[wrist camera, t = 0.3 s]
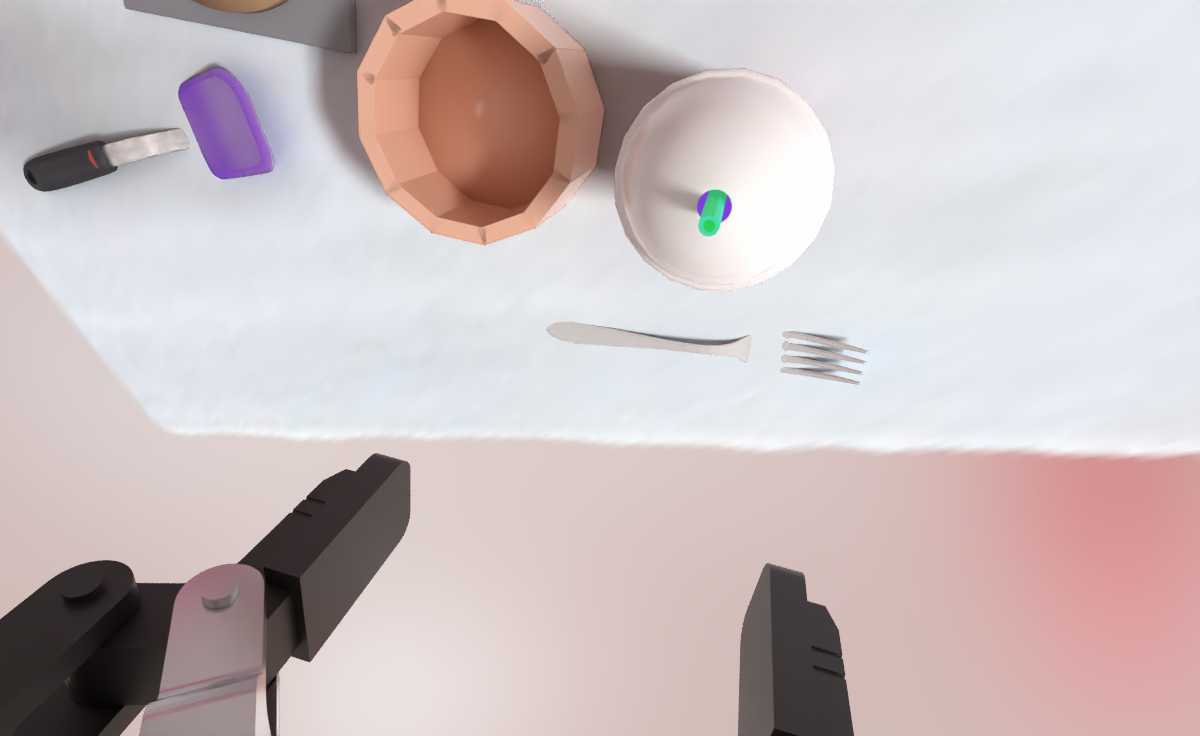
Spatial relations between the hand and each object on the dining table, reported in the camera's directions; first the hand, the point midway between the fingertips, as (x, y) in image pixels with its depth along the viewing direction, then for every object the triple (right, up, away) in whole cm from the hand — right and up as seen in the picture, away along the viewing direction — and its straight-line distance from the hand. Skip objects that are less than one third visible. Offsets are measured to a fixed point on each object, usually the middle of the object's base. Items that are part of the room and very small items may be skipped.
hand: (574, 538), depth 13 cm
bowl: (-5, +19, +24) cm, 32 cm away
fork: (+6, +6, +29) cm, 30 cm away
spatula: (-33, +20, +32) cm, 50 cm away
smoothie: (+8, +17, +22) cm, 29 cm away
